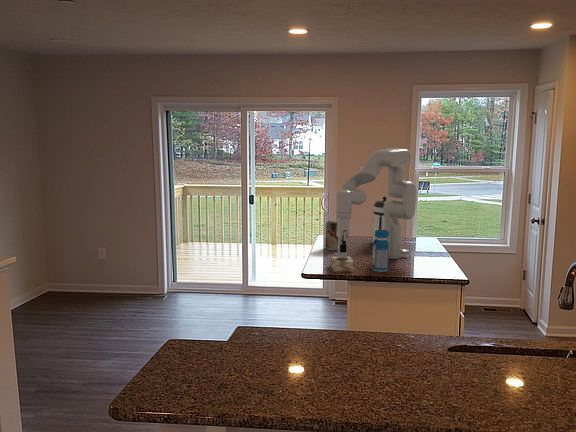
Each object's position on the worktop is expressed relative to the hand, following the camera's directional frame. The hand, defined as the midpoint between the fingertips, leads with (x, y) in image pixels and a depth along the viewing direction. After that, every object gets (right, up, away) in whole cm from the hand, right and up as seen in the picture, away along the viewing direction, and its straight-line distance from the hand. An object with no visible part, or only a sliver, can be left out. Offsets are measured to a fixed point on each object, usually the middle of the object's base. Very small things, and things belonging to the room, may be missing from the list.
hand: (342, 250), depth 254 cm
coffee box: (0, -2, +44) cm, 44 cm away
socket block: (0, -9, +2) cm, 9 cm away
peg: (0, -3, +1) cm, 3 cm away
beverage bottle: (+19, -10, +1) cm, 21 cm away
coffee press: (+30, 0, +58) cm, 66 cm away
